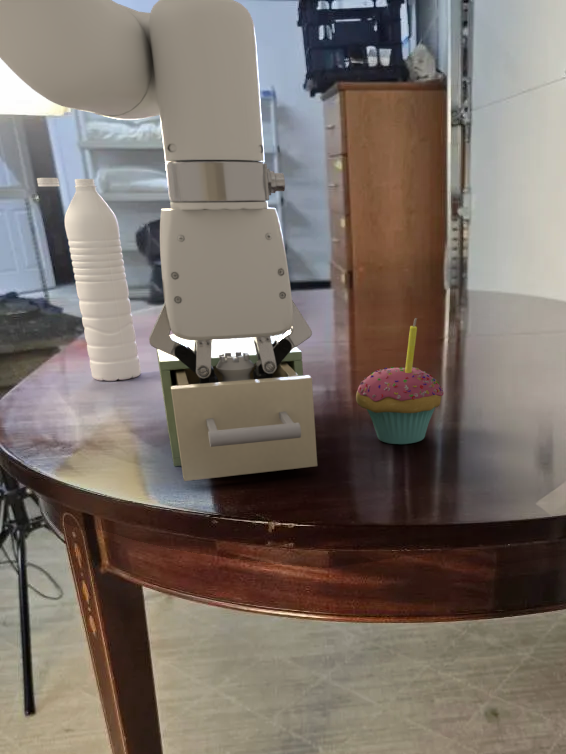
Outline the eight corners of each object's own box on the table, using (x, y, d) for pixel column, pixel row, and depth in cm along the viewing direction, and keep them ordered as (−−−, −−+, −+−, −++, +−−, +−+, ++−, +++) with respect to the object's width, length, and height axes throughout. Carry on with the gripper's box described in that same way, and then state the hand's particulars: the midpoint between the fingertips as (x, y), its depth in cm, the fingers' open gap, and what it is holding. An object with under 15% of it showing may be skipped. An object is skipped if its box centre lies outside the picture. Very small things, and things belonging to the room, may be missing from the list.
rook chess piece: (207, 450, 68) (196, 358, 64) (232, 436, 71) (223, 348, 68) (253, 454, 66) (245, 361, 63) (276, 440, 70) (269, 351, 67)
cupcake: (457, 434, 79) (459, 313, 74) (411, 456, 73) (410, 325, 68) (389, 422, 84) (387, 308, 79) (340, 442, 77) (334, 319, 73)
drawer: (331, 487, 63) (326, 392, 60) (188, 504, 60) (174, 405, 57) (289, 426, 80) (284, 350, 76) (175, 437, 76) (164, 358, 73)
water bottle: (139, 369, 111) (110, 178, 101) (143, 378, 106) (112, 177, 95) (75, 375, 108) (37, 178, 98) (74, 384, 103) (35, 177, 92)
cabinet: (308, 451, 75) (301, 351, 71) (173, 466, 71) (158, 361, 67) (282, 415, 87) (275, 328, 83) (167, 425, 84) (154, 335, 80)
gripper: (312, 189, 66) (322, 401, 73) (107, 190, 61) (141, 416, 69) (332, 188, 59) (341, 421, 67) (104, 189, 55) (142, 439, 62)
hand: (239, 416), depth 68 cm, fingers closed on rook chess piece, 3 cm apart
